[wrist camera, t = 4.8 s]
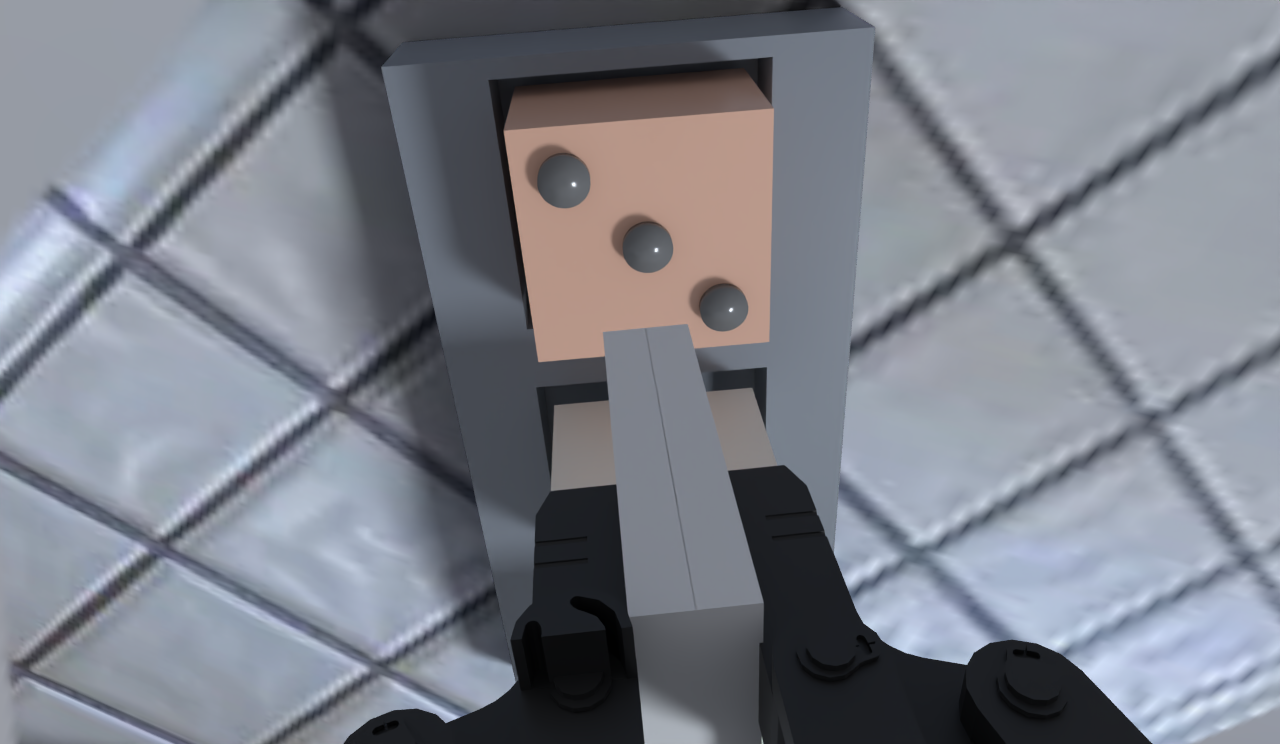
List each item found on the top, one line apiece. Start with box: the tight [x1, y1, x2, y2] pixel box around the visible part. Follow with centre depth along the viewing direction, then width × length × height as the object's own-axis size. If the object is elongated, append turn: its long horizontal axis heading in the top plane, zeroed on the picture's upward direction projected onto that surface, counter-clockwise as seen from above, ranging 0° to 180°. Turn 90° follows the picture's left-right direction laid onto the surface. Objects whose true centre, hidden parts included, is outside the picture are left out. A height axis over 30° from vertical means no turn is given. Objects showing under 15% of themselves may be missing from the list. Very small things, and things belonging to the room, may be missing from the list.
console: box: [381, 7, 875, 682], centre depth 29 cm, size 12×26×3 cm, turn 4°
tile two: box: [551, 388, 777, 491], centre depth 25 cm, size 6×6×4 cm
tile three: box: [504, 68, 774, 362], centre depth 22 cm, size 6×6×4 cm
